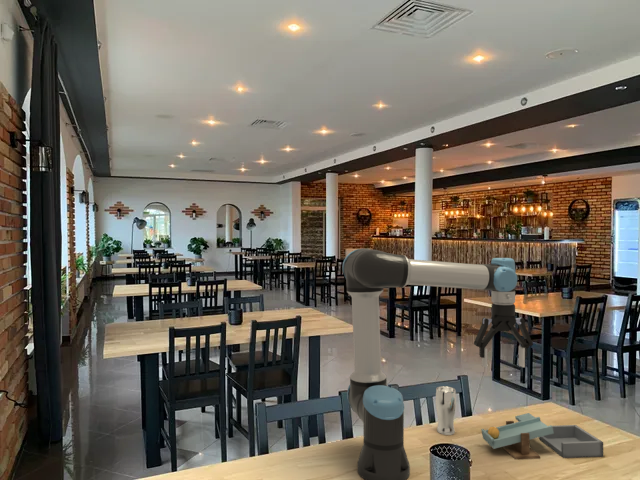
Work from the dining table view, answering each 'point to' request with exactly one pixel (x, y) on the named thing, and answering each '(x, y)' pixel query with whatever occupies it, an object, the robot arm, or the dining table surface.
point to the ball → (493, 432)
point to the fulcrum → (521, 447)
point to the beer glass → (445, 409)
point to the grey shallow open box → (573, 442)
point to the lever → (518, 431)
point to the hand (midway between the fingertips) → (503, 366)
